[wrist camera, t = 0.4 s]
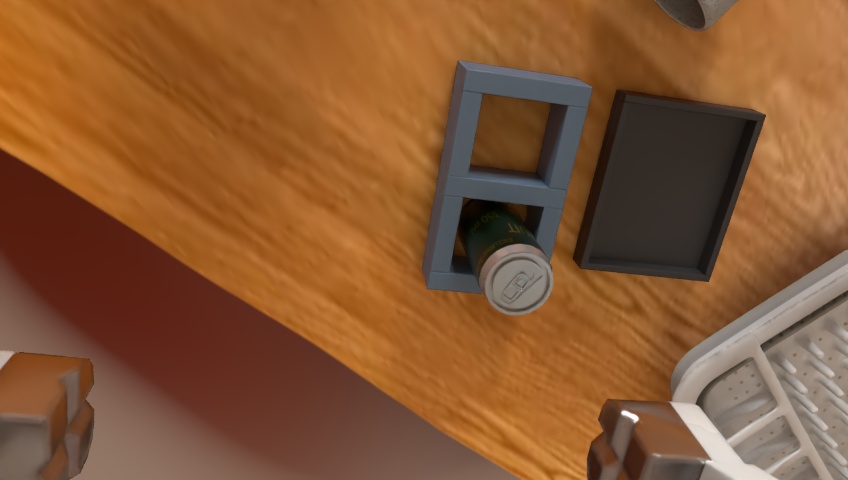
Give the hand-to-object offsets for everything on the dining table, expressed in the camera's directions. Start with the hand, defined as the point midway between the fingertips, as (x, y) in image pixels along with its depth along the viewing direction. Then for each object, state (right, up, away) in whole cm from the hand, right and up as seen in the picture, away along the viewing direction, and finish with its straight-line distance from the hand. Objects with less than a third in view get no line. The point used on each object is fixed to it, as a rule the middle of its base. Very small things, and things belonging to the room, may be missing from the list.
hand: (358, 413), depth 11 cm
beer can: (+6, +4, +49) cm, 50 cm away
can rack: (+7, +8, +48) cm, 49 cm away
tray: (+21, +7, +50) cm, 55 cm away
